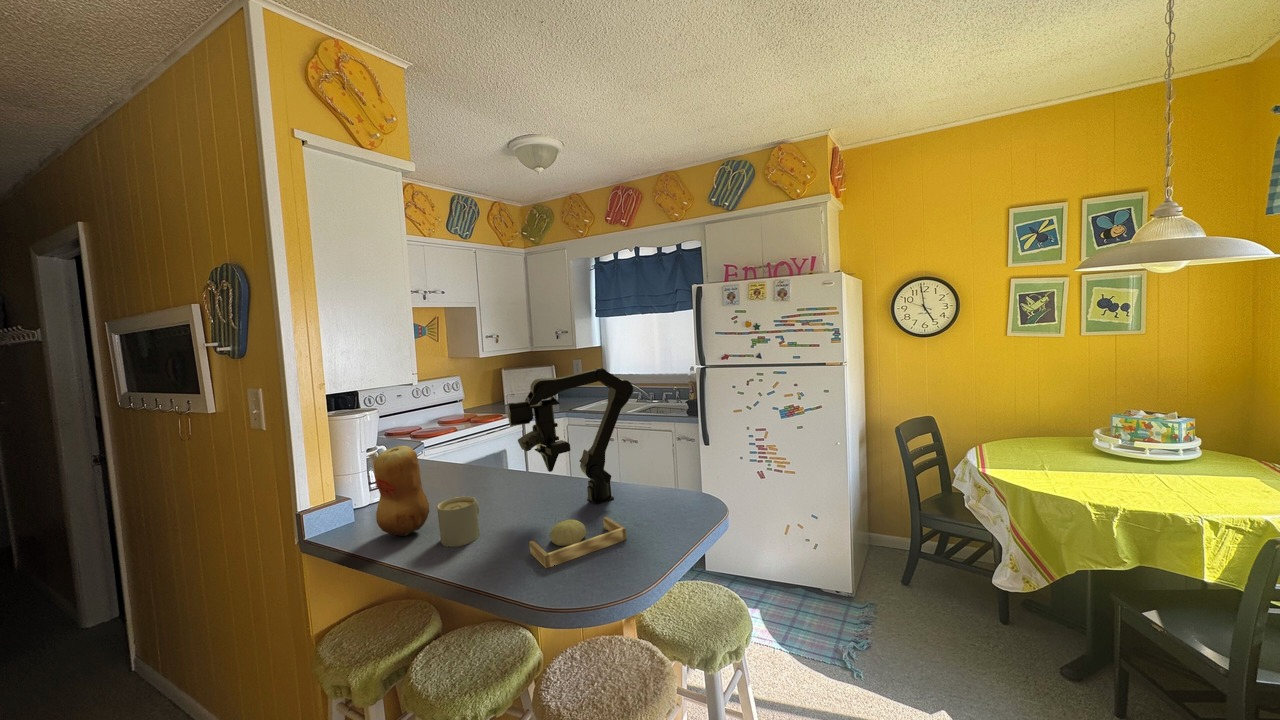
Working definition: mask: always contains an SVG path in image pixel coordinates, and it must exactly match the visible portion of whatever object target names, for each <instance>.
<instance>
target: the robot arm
mask: <svg viewBox="0 0 1280 720" xmlns="http://www.w3.org/2000/svg"><path fill="white" fill-rule="evenodd" d="M597 382H600V383H601V384H602V385H604V387H607V388H608V392H607V393H608V394H607V404H606V405H607V406H606V408H605V410H604V413H603V416H602V419H601V421H600V424H599V427H598V430H597V432H596V435H595V438H594V440H593V443H592V445H591V447H590V448H589V449H588V450H586V449H584V450H583V452H582V456H581V457H580V459H579V460H578V462H580V463H579V464H580V465H579V468H580V470H581V472H582V473H583V474H584V475H585V476H586V477H587V478H588V479H589V480H588V481H587V485H588V486H587V489H586V490H587V491H586V492H587V498H586V499H587V500H588V501H590V502H592V503H593V504H596V505H597V504H598V505H599V504H601V503H604V502H608V501H611V500H614V499H615V496H612V487H611V486H612V485H611V480H612V475H611V474H610V473H609V472H608V471H606V470H605V464H606V451H607V449H608V445H609V443H610V441H611V437H612V435H613V432H614V430H615V427H616V424H617V421H618V419H619V416H620V413H621V410H623V408H624V407H625V405H626V404H628V402H629V400H630V398H631V397H632V394H634V386H633V384H632V383H631V381H629V380H626V379H622V378H619V377H617V376H615V375H613V374H612V373H610V372H609V371H607V370H606V369H605V368H603V367H602V368H601V367H595V368H593V369H589V370H585V371H581V372H578V373H574V374H569V375H565V376H562V377H544V378H537V379H536V378H535V379H534V380H533V381H532V382H531V384H530V386H529V387H530V388H529V389H530V391H529V393H528V395H527V396H526V398H525V400H523V401H519V402H508V403H507V405H508V408H507V409H508V410H507V411H508V413H507V417H508V418H507V419H508V424H509V426H510V427H516V426H522V425H529V424H530V423H531V421H533V419H534V423H535V424H533V425H532V430H531V431H529V432H527V433H526V434H524V435H522V436H521V437H519V438H518V439H517V443H518V444H519V446H520V448H521V451H522V450H524V451H525V452H529V451H531V450H532V449H533V448H534V447H536V448H534V451H535V452H537V453H538V454H540V456H541V457H542V459H543V461H544V465H545V467H546V469H547V472H549V473H550V472H553V471H554V468H555V465H556V462H557V460H558V457H559V455H560V454H565V453H567V452H571V444H570V443H569V442H568V441H565V440H562V439H561V440H560V436H559V435H557V432H556V428H557V427H558V422H555V413H554V412H555V411H554V406H556V405H557V406H558V405H560V401H558V400H557V399H556V398H555V396H556V395H558V394H559V393H561V392H563V391H567V390H571V389H574V388H578V387H582V386H585V385H586V386H587V385H590V384H594V383H597Z"/></svg>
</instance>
